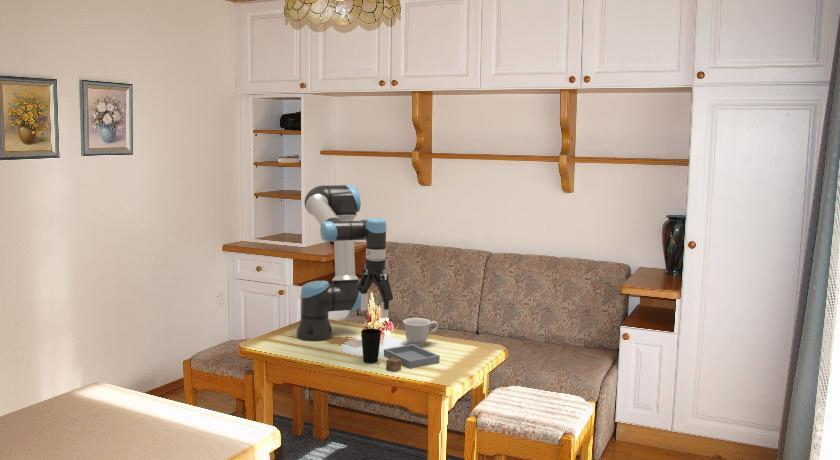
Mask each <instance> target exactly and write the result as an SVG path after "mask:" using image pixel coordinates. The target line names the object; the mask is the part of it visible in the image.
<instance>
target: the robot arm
mask: <svg viewBox="0 0 840 460" xmlns="http://www.w3.org/2000/svg"><path fill="white" fill-rule="evenodd" d="M303 203H304V204H303V205H304V208H305V209H306V211H307V212H308V213H309V214H310V215H311V216H313V217H314V218H315V219H316V221H317V222H318V224H319V225H320V231H319V232H320V236H321V237H320V238H321V239H322V240H323V241H324V242H333V244H334V246H333V247H334V274H335V275H334V277H333V278H332V280H331V282H332V283H329V281H327V280H313V281H309V282H306V283H305V284H303V285H302V286H301V290H300V320H299V323H298V327H297V330H296V338H298V339H300V340H303V341H313V342H315V341H316V342H317V341H324V340H325V341H326V340H328V339H331V338H332V337H333V329H332V325H331V323H330V320H329V312H342V311H343V312H344V311H349V312H350V311H353V310H354V311H355V310H358V309H360V311H367V310H369V292H368V291H369V289H370V288H371V286H372V284H374V285H375V287H377V289H378V291H379V294H380V296H381V298H382V300H381V302H380V303H381V306H380V307H381V309H380V310H381V311H380V319H386V318H389V309H390V301H393V300H394V296H393V293H392V289H391V285H390V280H389V274H388V273H385V274H384V273H383V272H384V270H385V269H386V260H385V259H386V258H387V257H386V256H387V255H386V254H387V253H386V252H387V251H386V250H387V249H386V248H387V245H386V244H387V230H388V229H387V221H386V219H384V218H379V217H371V218H368V219H365V218H364V219H360V220H354V219H355V218H356V217H357V215H358V214H357V213H360V211H361V206H362V205H361V204H362V203H361V195H360V192H359V191H358V188H357V187H355V186H354V185H347V184H344V185H343V184H342V185H341V184H340V185H334V184H333V185H324V184H322V185H317V186H315V187H313V188H312V189H310V190H309V191H308V192H307V193H306V196H305V197H304V201H303ZM355 241H365V258H366V259H365V268H364V269H362V272H361V276H360V277H361V278H360V279H359V277H358V276H357V275H356V264H355V263H356V261H355V260H356V259H355V256H356V255H355Z"/></svg>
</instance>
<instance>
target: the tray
mask: <svg viewBox="0 0 840 460" xmlns="http://www.w3.org/2000/svg"><path fill="white" fill-rule="evenodd" d="M383 357H384V358H386V359H390V358H397V359H401V366H403V367H406V368H408V369H414V368H415V369H416V368H419V367H425V366H430V365H435V364H439V363H440V354H437V353H434V352H432V351H430V350H427V349H425V348H422V346H416V345H414V344H411V345H410V344H406V345H401V346H395V347H389V348H384V349H383Z"/></svg>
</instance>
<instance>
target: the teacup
mask: <svg viewBox="0 0 840 460" xmlns="http://www.w3.org/2000/svg"><path fill="white" fill-rule="evenodd" d="M402 323H403V324H404V330H405V338H406V340H407V341H408V342H409V345H411V344H414V345H416V346H418V347H422V346H424V343H425V342H426V341H427V340H428V337H429V336H430V334H432V333H434V332H436V331H437V329H438V328H439V323H438V322H437V321H436V320H431V319H428V318H422V317H408V318H406V319H403V320H402ZM433 325H435V327H434V328H433V329H431V330H430V327H433Z"/></svg>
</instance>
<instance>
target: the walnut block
mask: <svg viewBox="0 0 840 460" xmlns="http://www.w3.org/2000/svg"><path fill="white" fill-rule="evenodd" d="M385 370H386V371H387V372H388V371H389V372H392V373H396V372H398V371H399V372H400V371H401V370H402V365H401V359H397V358H390V359H389V358H386V365H385Z"/></svg>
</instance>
